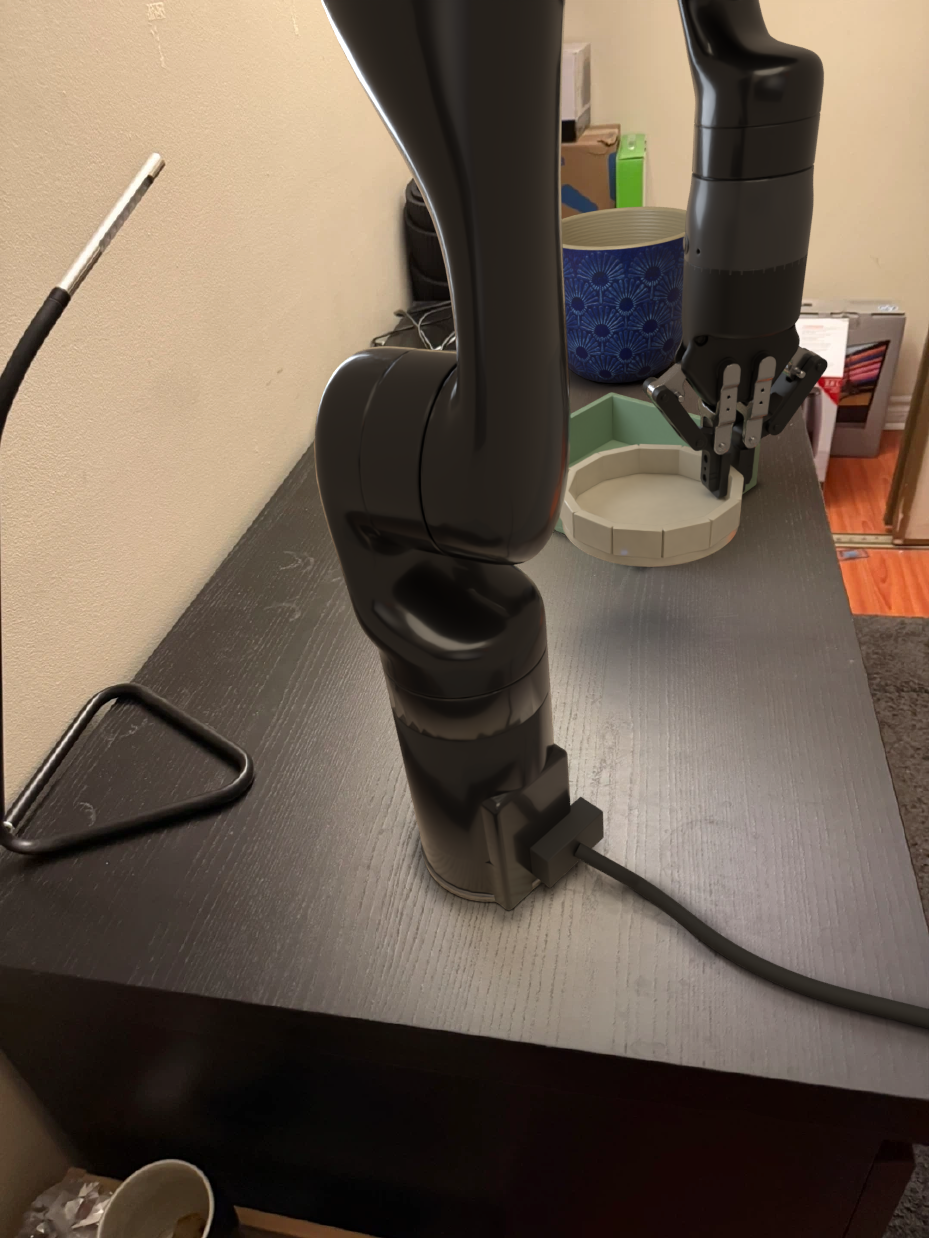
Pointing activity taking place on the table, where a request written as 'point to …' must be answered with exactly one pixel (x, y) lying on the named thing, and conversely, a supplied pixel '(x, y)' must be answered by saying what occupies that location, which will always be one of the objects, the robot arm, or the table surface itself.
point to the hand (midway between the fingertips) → (725, 490)
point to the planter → (623, 291)
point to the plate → (648, 506)
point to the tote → (624, 430)
